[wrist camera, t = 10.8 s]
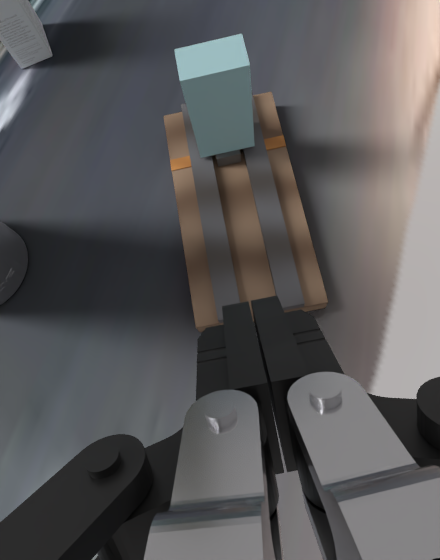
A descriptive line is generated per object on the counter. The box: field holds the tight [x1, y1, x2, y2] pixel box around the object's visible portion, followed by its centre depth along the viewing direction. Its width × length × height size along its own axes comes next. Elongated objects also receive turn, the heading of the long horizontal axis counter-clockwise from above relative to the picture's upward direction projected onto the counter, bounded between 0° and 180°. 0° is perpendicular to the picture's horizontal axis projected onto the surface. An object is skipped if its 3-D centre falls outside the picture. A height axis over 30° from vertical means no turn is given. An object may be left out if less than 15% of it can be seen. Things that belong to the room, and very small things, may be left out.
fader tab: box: [174, 34, 255, 167], centre depth 33 cm, size 4×5×10 cm
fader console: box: [164, 90, 328, 332], centre depth 37 cm, size 22×11×3 cm, turn 10°
